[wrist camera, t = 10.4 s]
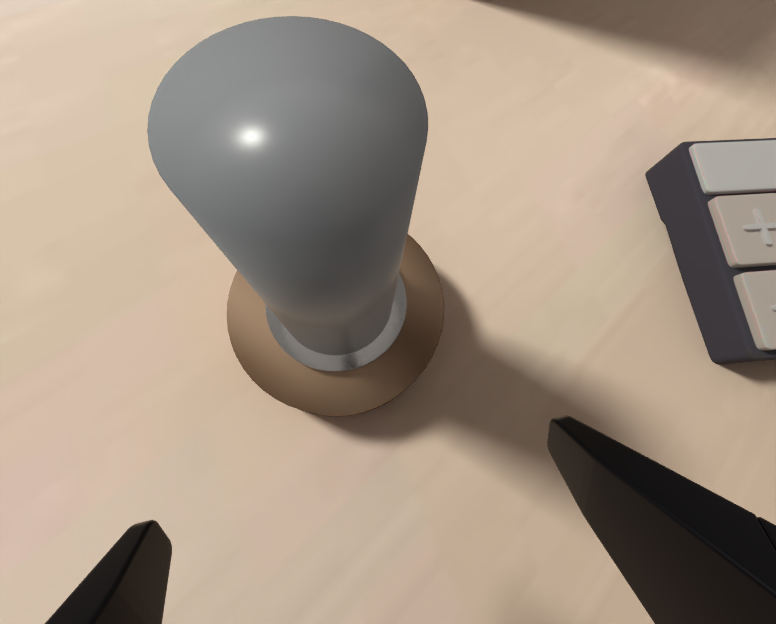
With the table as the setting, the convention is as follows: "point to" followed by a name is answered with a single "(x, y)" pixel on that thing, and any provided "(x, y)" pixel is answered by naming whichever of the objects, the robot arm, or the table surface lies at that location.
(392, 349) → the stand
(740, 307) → the calculator
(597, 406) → the table surface
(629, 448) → the robot arm
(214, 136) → the grey cylinder
